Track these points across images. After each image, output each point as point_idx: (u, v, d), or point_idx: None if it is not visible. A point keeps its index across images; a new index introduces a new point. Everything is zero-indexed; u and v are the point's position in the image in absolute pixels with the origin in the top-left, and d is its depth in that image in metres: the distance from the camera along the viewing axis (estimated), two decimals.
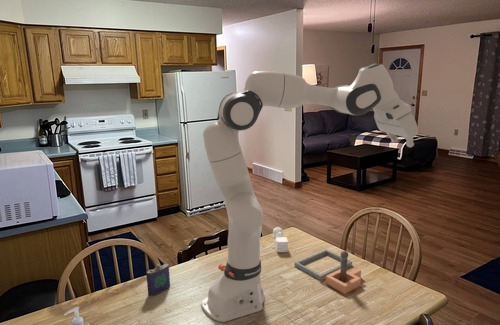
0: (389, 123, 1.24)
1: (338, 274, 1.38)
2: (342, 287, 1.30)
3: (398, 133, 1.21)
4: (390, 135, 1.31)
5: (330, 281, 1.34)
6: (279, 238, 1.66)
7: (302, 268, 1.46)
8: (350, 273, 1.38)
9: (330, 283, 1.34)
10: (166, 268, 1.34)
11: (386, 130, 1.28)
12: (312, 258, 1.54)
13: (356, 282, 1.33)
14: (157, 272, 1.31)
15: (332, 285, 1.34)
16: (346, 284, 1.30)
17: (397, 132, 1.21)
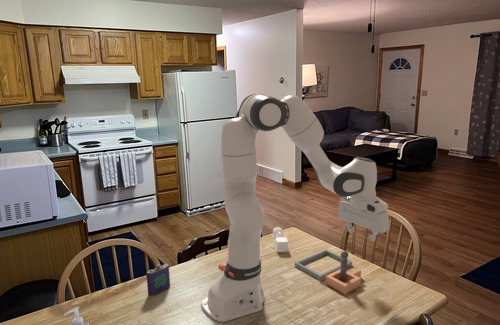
0: (359, 214, 1.34)
1: (338, 274, 1.38)
2: (342, 287, 1.30)
3: (367, 225, 1.31)
4: (349, 225, 1.40)
5: (330, 281, 1.34)
6: (279, 238, 1.66)
7: (302, 268, 1.46)
8: (350, 273, 1.38)
9: (330, 283, 1.34)
10: (166, 268, 1.34)
11: (350, 219, 1.37)
12: (312, 258, 1.54)
13: (356, 282, 1.33)
14: (157, 272, 1.31)
15: (332, 285, 1.34)
16: (346, 284, 1.30)
17: (366, 224, 1.32)
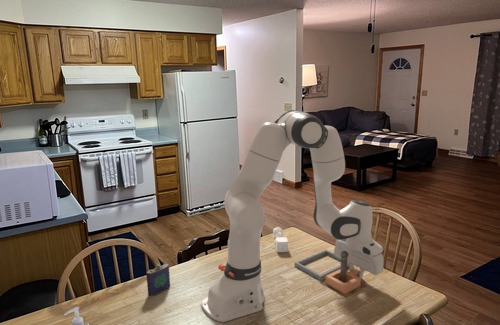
0: (355, 254, 1.37)
1: (338, 274, 1.38)
2: (342, 287, 1.30)
3: (362, 266, 1.35)
4: (350, 266, 1.41)
5: (330, 281, 1.34)
6: (279, 238, 1.66)
7: (302, 268, 1.46)
8: (350, 273, 1.38)
9: (330, 283, 1.34)
10: (166, 268, 1.34)
11: None
12: (312, 258, 1.54)
13: (356, 282, 1.33)
14: (157, 272, 1.31)
15: (332, 285, 1.34)
16: (346, 284, 1.30)
17: (362, 265, 1.35)
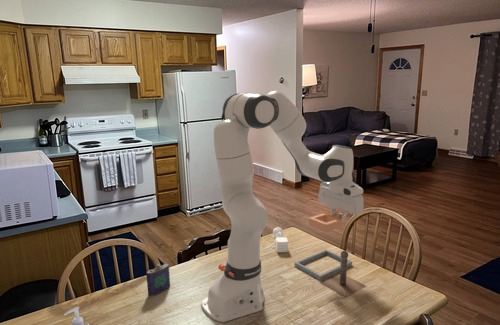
0: (337, 198, 1.43)
1: (321, 217, 1.44)
2: (323, 226, 1.36)
3: (344, 208, 1.41)
4: (333, 211, 1.47)
5: (313, 222, 1.40)
6: (279, 238, 1.66)
7: (302, 268, 1.46)
8: (332, 216, 1.43)
9: (313, 224, 1.40)
10: (166, 268, 1.34)
11: (329, 203, 1.47)
12: (312, 258, 1.54)
13: (337, 222, 1.39)
14: (157, 272, 1.31)
15: (314, 226, 1.40)
16: (327, 223, 1.36)
17: (343, 207, 1.41)
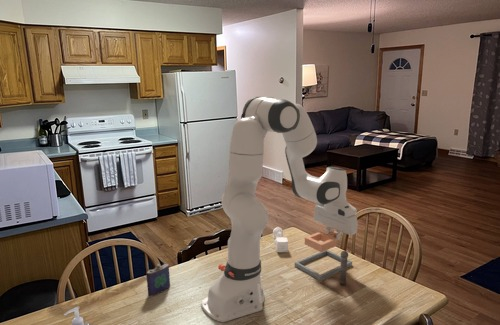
0: (332, 217, 1.48)
1: (316, 236, 1.49)
2: (319, 246, 1.40)
3: (338, 228, 1.45)
4: (328, 229, 1.51)
5: (308, 242, 1.45)
6: (279, 238, 1.66)
7: (302, 268, 1.46)
8: (328, 235, 1.48)
9: (309, 243, 1.45)
10: (166, 268, 1.34)
11: (324, 222, 1.51)
12: (312, 258, 1.54)
13: (332, 242, 1.43)
14: (157, 272, 1.31)
15: (310, 245, 1.44)
16: (323, 243, 1.41)
17: (338, 227, 1.45)
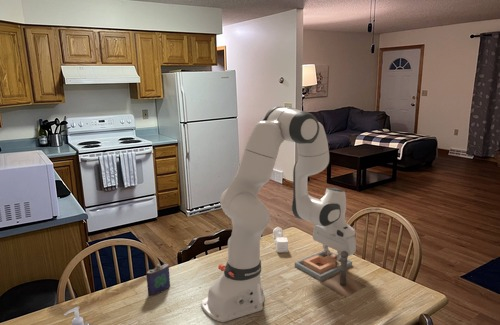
0: (330, 237, 1.49)
1: (315, 259, 1.51)
2: (317, 270, 1.43)
3: (337, 248, 1.47)
4: (325, 248, 1.54)
5: (307, 265, 1.47)
6: (279, 238, 1.66)
7: (302, 268, 1.46)
8: (326, 258, 1.50)
9: (308, 267, 1.47)
10: (166, 268, 1.34)
11: (323, 242, 1.53)
12: None
13: (331, 266, 1.45)
14: (157, 272, 1.31)
15: None
16: (321, 267, 1.43)
17: (336, 247, 1.47)
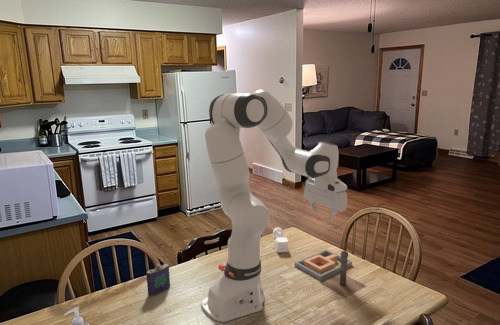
0: (321, 194, 1.45)
1: (315, 259, 1.51)
2: (317, 270, 1.43)
3: (328, 204, 1.43)
4: (312, 205, 1.52)
5: (307, 265, 1.47)
6: (279, 238, 1.66)
7: (302, 268, 1.46)
8: (326, 258, 1.50)
9: (308, 267, 1.47)
10: (166, 268, 1.34)
11: (313, 199, 1.49)
12: None
13: (331, 266, 1.45)
14: (157, 272, 1.31)
15: None
16: (321, 267, 1.43)
17: (327, 203, 1.43)
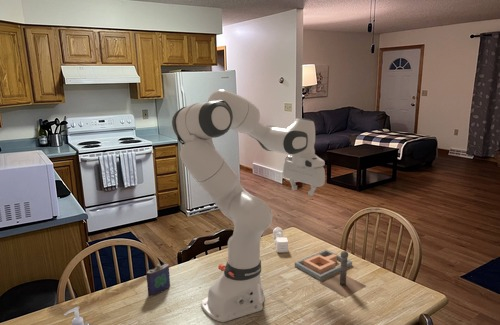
0: (300, 171, 1.45)
1: (315, 259, 1.51)
2: (317, 270, 1.43)
3: (306, 181, 1.42)
4: (292, 183, 1.51)
5: (307, 265, 1.47)
6: (279, 238, 1.66)
7: (302, 268, 1.46)
8: (326, 258, 1.50)
9: (308, 267, 1.47)
10: (166, 268, 1.34)
11: (293, 177, 1.48)
12: None
13: (331, 266, 1.45)
14: (157, 272, 1.31)
15: None
16: (321, 267, 1.43)
17: (305, 180, 1.43)
